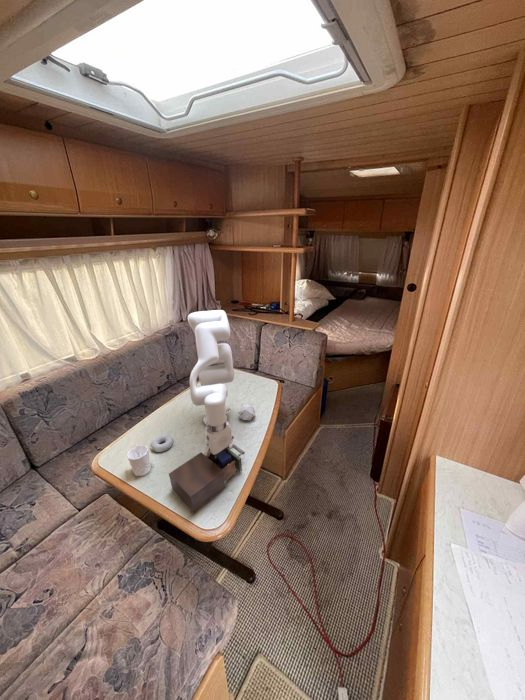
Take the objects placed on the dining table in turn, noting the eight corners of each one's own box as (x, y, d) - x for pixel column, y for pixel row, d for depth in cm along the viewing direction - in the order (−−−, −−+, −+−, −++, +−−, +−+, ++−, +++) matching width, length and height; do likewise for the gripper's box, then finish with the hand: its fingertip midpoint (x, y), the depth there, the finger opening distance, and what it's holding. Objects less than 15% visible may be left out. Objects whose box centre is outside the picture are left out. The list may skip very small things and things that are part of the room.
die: (237, 415, 150) (233, 410, 142) (248, 403, 153) (245, 397, 144) (247, 426, 147) (244, 421, 138) (259, 413, 149) (256, 408, 141)
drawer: (230, 448, 125) (228, 436, 123) (250, 464, 117) (249, 451, 114) (195, 472, 113) (193, 460, 111) (216, 492, 105) (214, 478, 102)
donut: (164, 455, 124) (177, 440, 132) (163, 450, 122) (176, 435, 131) (147, 451, 127) (160, 436, 136) (145, 445, 126) (159, 431, 134)
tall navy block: (211, 457, 114) (210, 452, 113) (219, 451, 117) (218, 446, 115) (223, 468, 109) (222, 462, 107) (231, 461, 112) (230, 456, 110)
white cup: (140, 480, 112) (135, 462, 108) (128, 472, 116) (123, 454, 112) (156, 467, 118) (151, 449, 114) (144, 460, 122) (140, 442, 118)
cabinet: (203, 467, 117) (201, 452, 113) (225, 487, 107) (223, 471, 104) (172, 489, 107) (168, 473, 104) (193, 514, 98) (190, 497, 94)
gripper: (204, 439, 97) (210, 476, 105) (239, 417, 108) (242, 452, 116) (192, 430, 102) (198, 466, 109) (227, 409, 113) (230, 444, 121)
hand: (221, 458), depth 113 cm, fingers closed on tall navy block, 4 cm apart
